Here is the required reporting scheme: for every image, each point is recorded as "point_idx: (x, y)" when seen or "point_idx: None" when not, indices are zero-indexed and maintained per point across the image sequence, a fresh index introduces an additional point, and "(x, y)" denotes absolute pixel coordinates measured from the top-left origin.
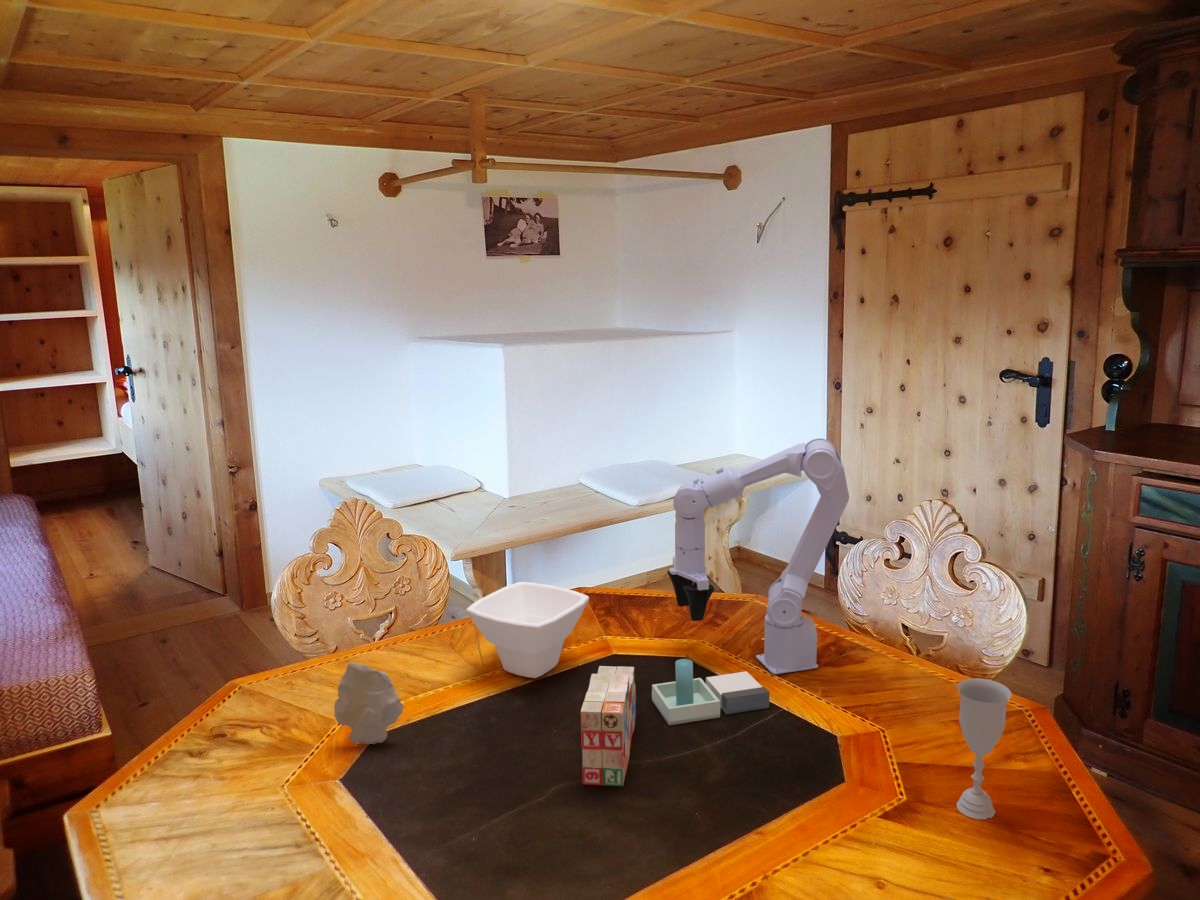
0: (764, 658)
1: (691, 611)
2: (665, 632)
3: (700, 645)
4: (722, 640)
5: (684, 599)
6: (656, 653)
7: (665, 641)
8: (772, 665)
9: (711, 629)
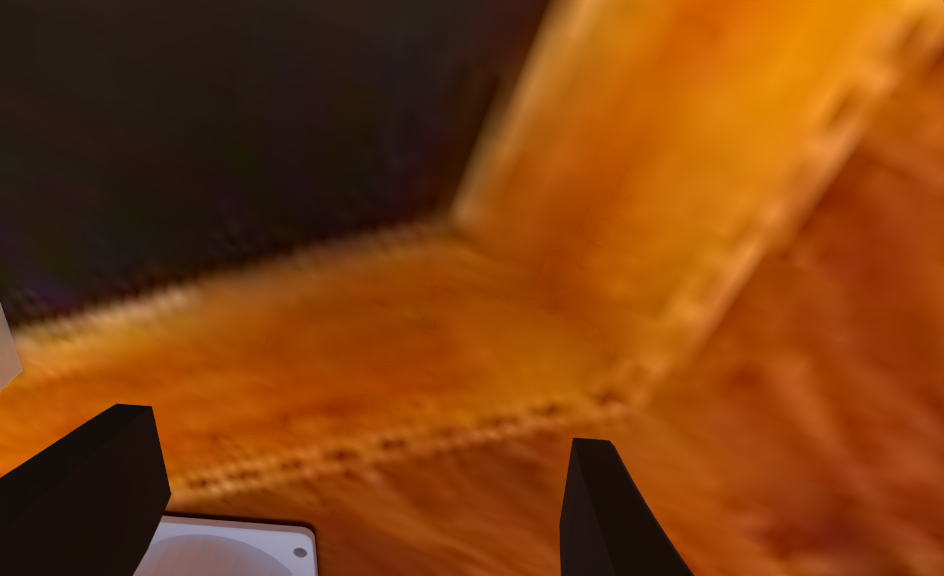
0: (230, 551)
1: (5, 475)
2: (882, 251)
3: (572, 364)
4: None
5: (574, 553)
6: (583, 47)
7: (743, 193)
8: (158, 546)
9: (747, 497)
